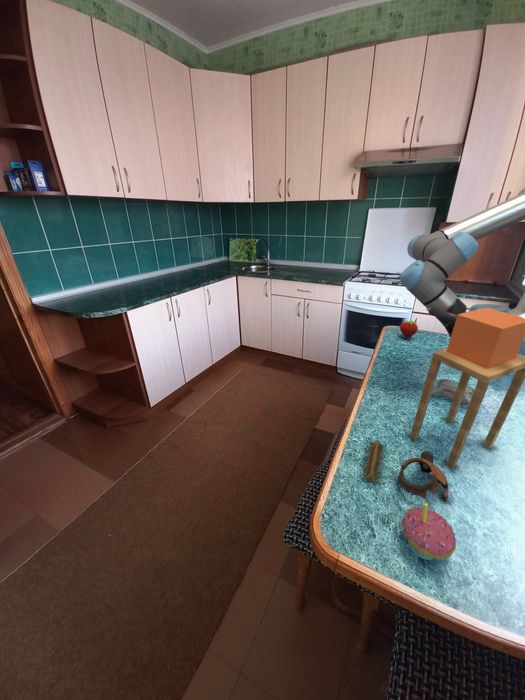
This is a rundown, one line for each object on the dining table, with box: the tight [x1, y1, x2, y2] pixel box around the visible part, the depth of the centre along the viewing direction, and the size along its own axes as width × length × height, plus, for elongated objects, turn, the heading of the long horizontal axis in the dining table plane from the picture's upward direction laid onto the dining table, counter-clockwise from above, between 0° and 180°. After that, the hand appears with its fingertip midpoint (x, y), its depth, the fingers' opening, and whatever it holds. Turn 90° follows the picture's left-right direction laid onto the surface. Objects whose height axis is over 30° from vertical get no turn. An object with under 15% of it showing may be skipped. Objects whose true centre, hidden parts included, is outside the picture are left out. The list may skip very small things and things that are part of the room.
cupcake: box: [401, 499, 457, 561], centre depth 51 cm, size 9×8×12 cm
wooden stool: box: [409, 347, 525, 470], centre depth 71 cm, size 16×12×26 cm
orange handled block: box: [427, 307, 525, 369], centre depth 67 cm, size 10×19×9 cm, turn 25°
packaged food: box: [432, 378, 475, 406], centre depth 92 cm, size 9×12×5 cm
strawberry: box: [399, 320, 419, 340], centre depth 131 cm, size 6×8×10 cm
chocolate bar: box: [363, 439, 383, 484], centre depth 71 cm, size 3×12×2 cm, turn 154°
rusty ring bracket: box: [397, 450, 449, 502], centre depth 65 cm, size 12×10×8 cm
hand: (496, 357), depth 84 cm, fingers open, 13 cm apart
